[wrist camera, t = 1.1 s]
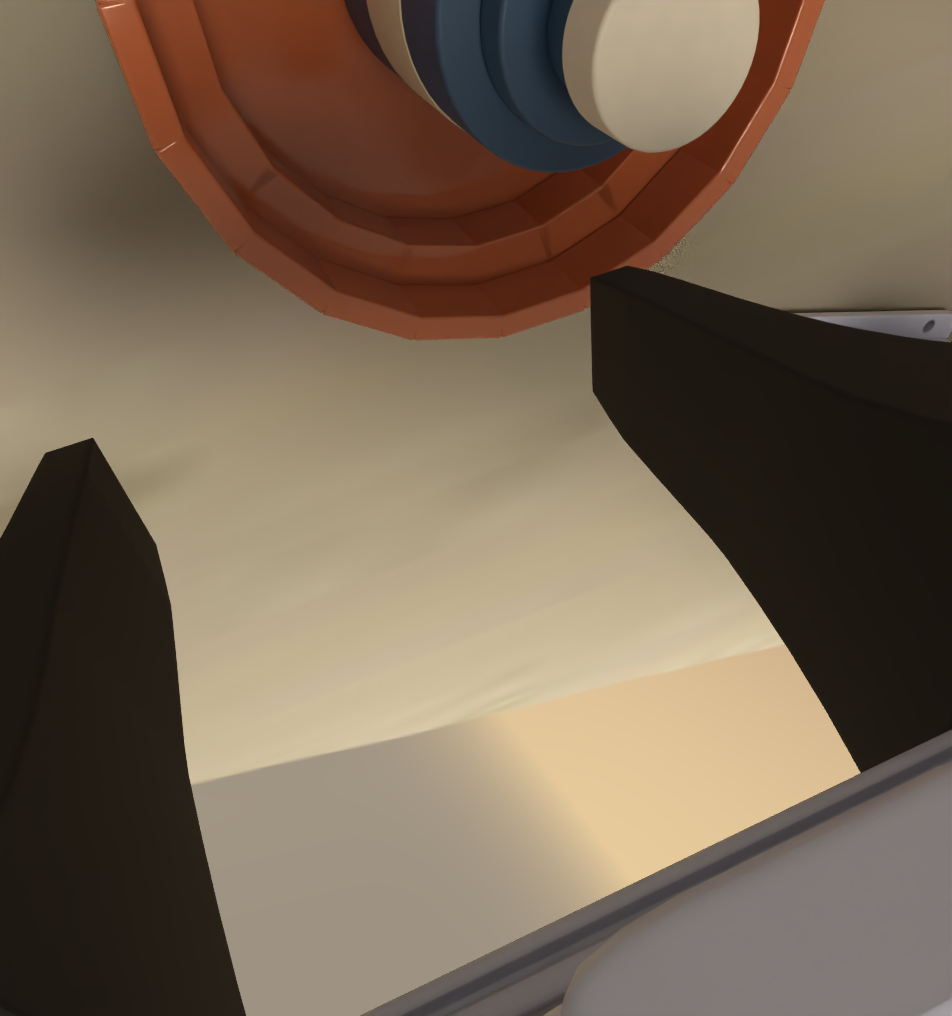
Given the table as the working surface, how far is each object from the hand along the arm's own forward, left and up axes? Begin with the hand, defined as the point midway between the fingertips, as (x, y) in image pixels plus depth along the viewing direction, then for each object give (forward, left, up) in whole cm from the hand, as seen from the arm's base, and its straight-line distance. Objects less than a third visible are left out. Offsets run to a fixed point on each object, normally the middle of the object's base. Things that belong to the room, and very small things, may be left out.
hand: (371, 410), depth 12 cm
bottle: (-4, -5, -10) cm, 12 cm away
